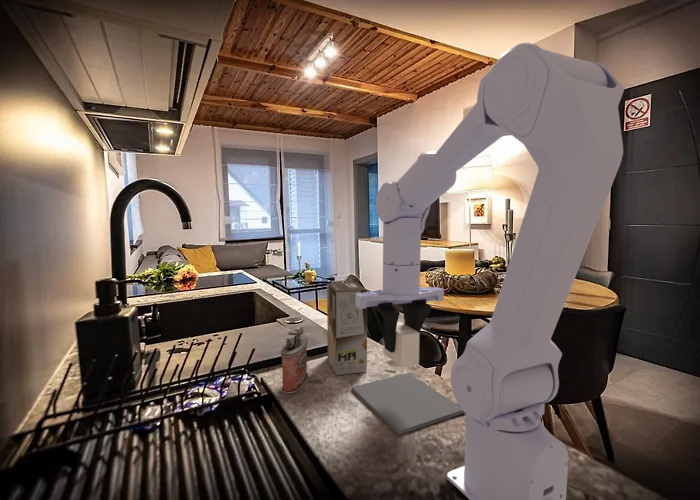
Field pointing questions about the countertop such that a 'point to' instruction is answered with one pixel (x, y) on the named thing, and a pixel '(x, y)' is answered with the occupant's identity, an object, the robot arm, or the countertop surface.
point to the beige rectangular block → (405, 347)
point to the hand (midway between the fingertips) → (400, 348)
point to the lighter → (294, 363)
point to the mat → (406, 402)
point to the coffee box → (346, 328)
